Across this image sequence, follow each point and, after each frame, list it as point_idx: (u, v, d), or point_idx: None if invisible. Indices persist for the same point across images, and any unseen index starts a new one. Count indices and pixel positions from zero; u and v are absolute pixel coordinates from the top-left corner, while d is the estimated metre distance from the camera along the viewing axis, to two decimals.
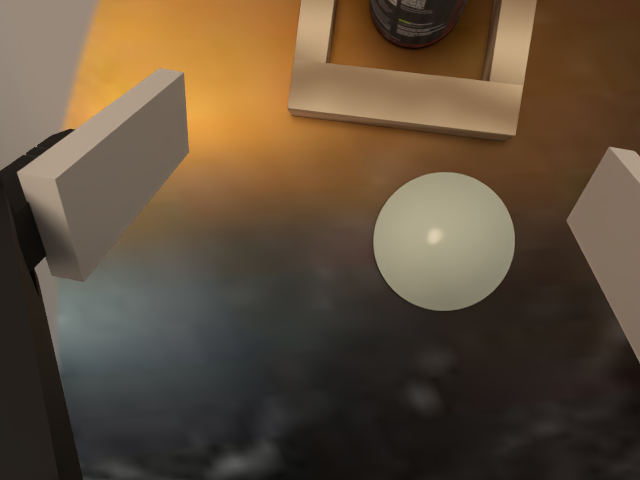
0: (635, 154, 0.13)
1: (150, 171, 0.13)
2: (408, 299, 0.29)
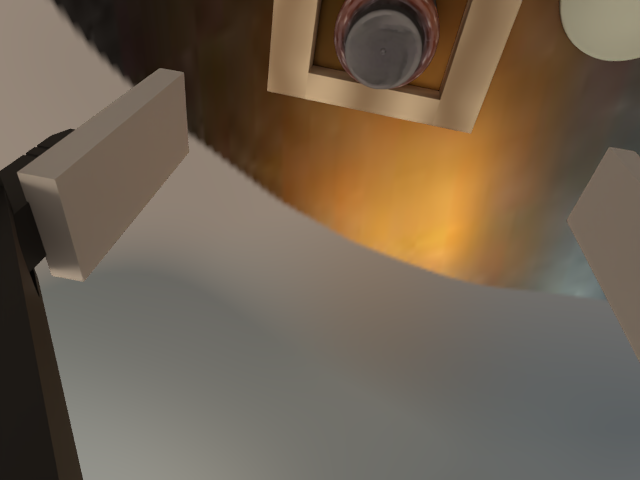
0: (635, 154, 0.13)
1: (150, 171, 0.13)
2: None
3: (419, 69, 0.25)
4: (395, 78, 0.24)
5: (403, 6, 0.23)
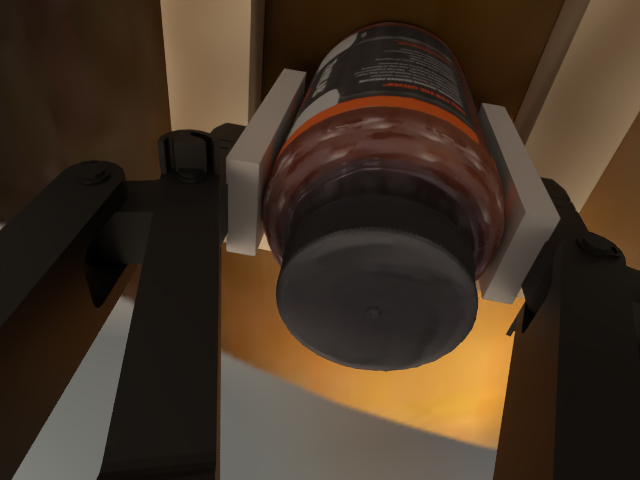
0: (503, 108, 0.15)
1: None
2: None
3: None
4: (407, 358, 0.10)
5: (424, 189, 0.09)
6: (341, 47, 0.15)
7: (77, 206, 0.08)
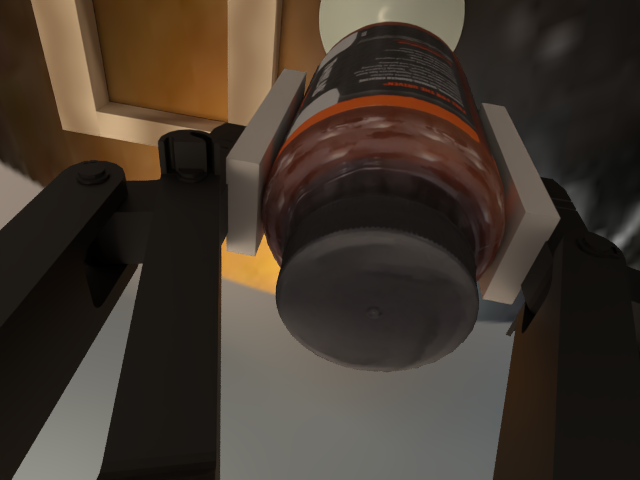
0: (503, 108, 0.15)
1: None
2: None
3: None
4: (407, 359, 0.09)
5: (424, 189, 0.09)
6: (341, 46, 0.15)
7: (77, 206, 0.08)
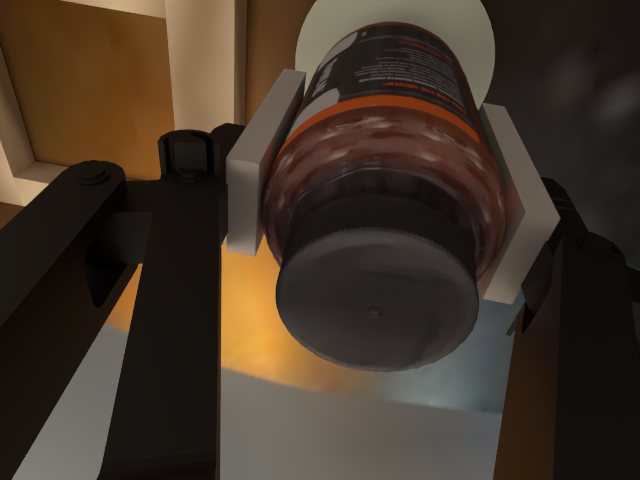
0: (503, 108, 0.15)
1: None
2: None
3: None
4: (407, 359, 0.09)
5: (424, 189, 0.09)
6: (341, 46, 0.15)
7: (77, 206, 0.08)
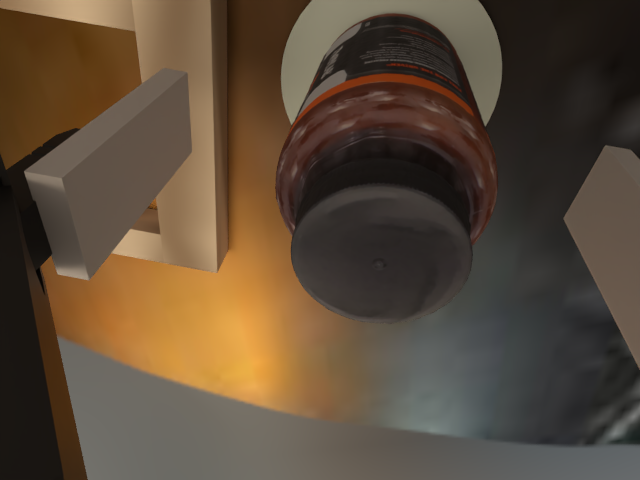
0: (631, 152, 0.13)
1: (155, 170, 0.13)
2: None
3: None
4: (408, 309, 0.10)
5: (423, 154, 0.10)
6: (346, 36, 0.16)
7: None
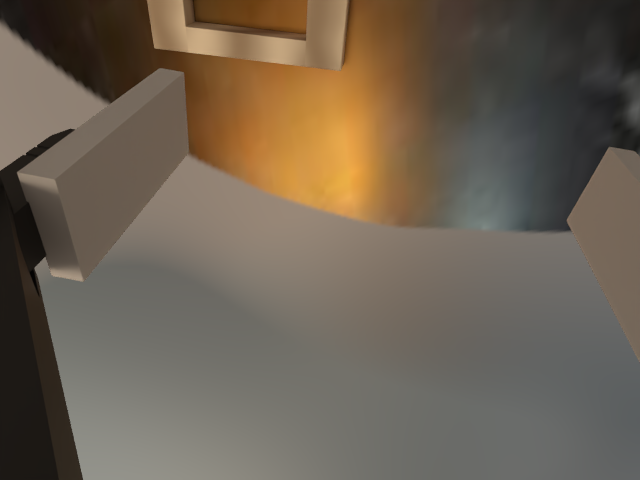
0: (635, 154, 0.13)
1: (150, 170, 0.13)
2: None
3: None
4: None
5: None
6: None
7: None
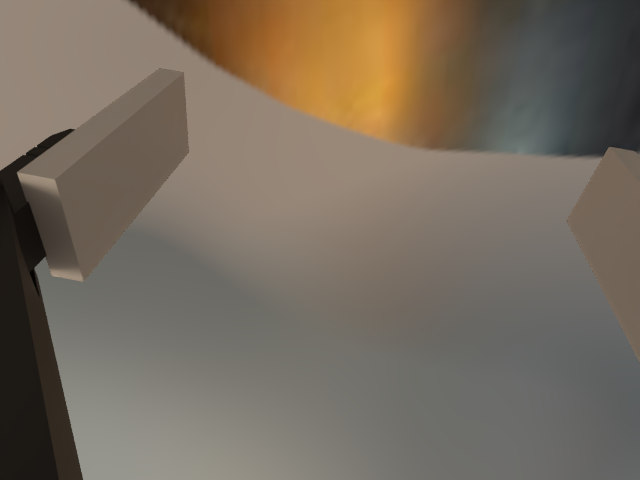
0: (635, 154, 0.13)
1: (150, 171, 0.13)
2: None
3: None
4: None
5: None
6: None
7: None
